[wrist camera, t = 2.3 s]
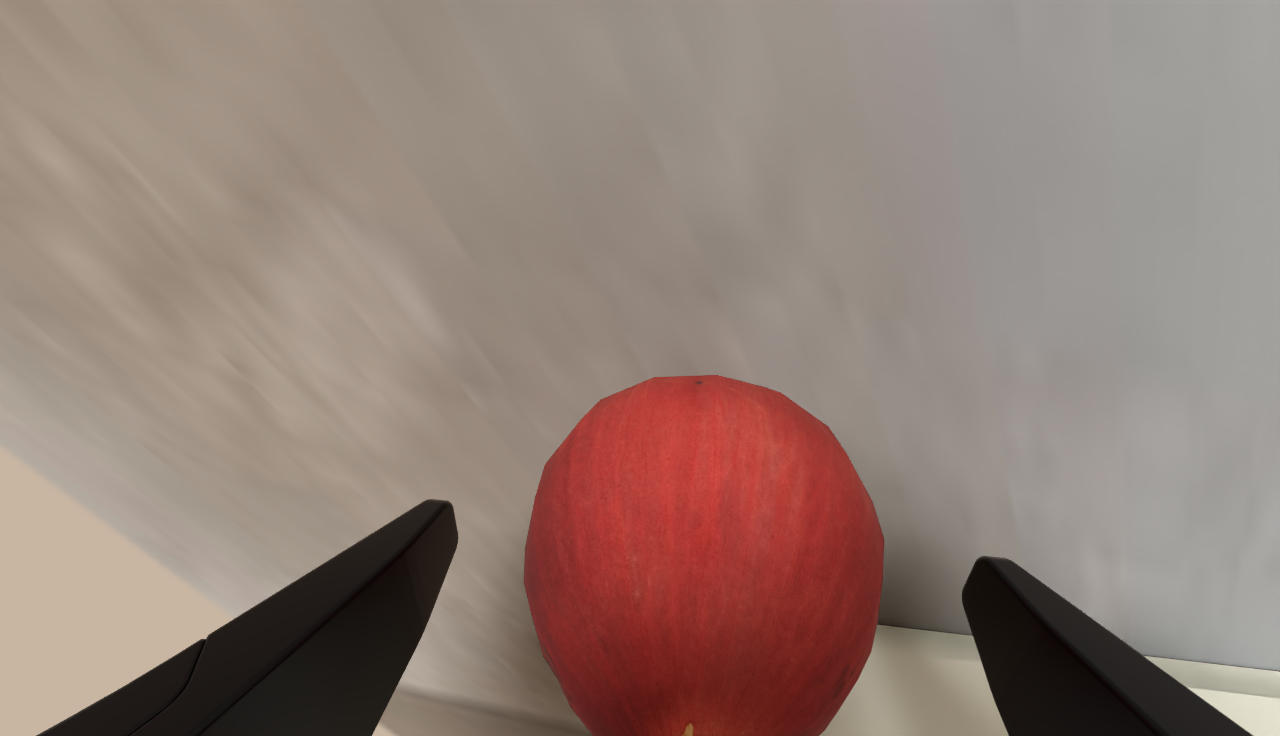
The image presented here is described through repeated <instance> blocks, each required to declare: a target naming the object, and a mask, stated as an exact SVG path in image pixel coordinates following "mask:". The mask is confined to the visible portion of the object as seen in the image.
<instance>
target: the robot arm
mask: <svg viewBox="0 0 1280 736" xmlns="http://www.w3.org/2000/svg"><path fill="white" fill-rule="evenodd" d="M457 544H458V531H457V526H456V520H455V514H454V509H453V505H452V504H451V503H450V502H449V501H444V500H434V499H429V500H426V501H424V502H422V503H420V504H419V505H417V506H416V507H414V508H412V509H411V510H409V511H408V512H406V513H404V514H403V515H401V516H400V517H398V518H396V519H395V520H393V521H391V522H390V523H388V524H387V525H385V526H383V527H382V528H380V529H379V530H377V531H375V532H374V533H372V534H370V535H369V536H367V537H366V538H364V539H362V540H361V541H359V542H358V543H356V544H354V545H353V546H351V547H350V548H348V549H346V550H345V551H343V552H341V553H340V554H338V555H337V556H335V557H333V558H332V559H330V560H329V561H327V562H325V563H324V564H322V565H320V566H319V567H317V568H316V569H314V570H312V571H311V572H309V573H308V574H306V575H304V576H303V577H301V578H300V579H298V580H296V581H295V582H293V583H291V584H290V585H288V586H287V587H285V588H283V589H282V590H280V591H279V592H277V593H275V594H274V595H272V596H270V597H269V598H267V599H266V600H264V601H262V602H261V603H259V604H258V605H256V606H254V607H253V608H251V609H250V610H248V611H246V612H245V613H243V614H241V615H240V616H238V617H237V618H235V619H233V620H232V621H230V622H229V623H227V624H225V625H224V626H222V627H220V628H219V629H217V630H216V631H214V632H212V633H211V634H209V635H208V637H207V639H201V640H199V641H198V642H196V643H194V644H193V645H191V646H190V647H188V648H186V649H185V650H183V651H182V652H180V653H178V654H177V655H175V656H173V657H172V658H170V659H168V660H167V661H165V662H163V663H162V664H160V665H159V666H157V667H155V668H154V669H152V670H150V671H149V672H147V673H145V674H144V675H142V676H141V677H139V678H137V679H135V680H134V681H132V682H130V683H129V684H127V685H125V686H124V687H122V688H120V689H118V690H117V691H115V692H113V693H111V694H110V695H108V696H106V697H104V698H103V699H101V700H99V701H97V702H96V703H94V704H92V705H90V706H88V707H87V708H85V709H83V710H81V711H80V712H78V713H77V714H74V715H73V716H71V717H69V718H67V719H66V720H64V721H62V722H60V723H58V724H57V725H55V726H53V727H51V728H49V729H48V730H46V731H44V732H42V733H40V734H39V735H37V736H372V734H373V732H374V730H375V728H376V726H377V724H378V722H379V720H380V718H381V716H382V714H383V712H384V711H385V709H386V707H387V705H388V703H389V701H390V699H391V697H392V695H393V693H394V691H395V689H396V687H397V685H398V683H399V681H400V679H401V677H402V675H403V673H404V671H405V669H406V667H407V665H408V663H409V661H410V659H411V657H412V655H413V653H414V651H415V649H416V647H417V645H418V643H419V641H420V639H421V637H422V635H423V632H424V630H425V628H426V625H427V623H428V621H429V618H430V616H431V613H432V610H433V608H434V605H435V603H436V600H437V597H438V595H439V592H440V590H441V587H442V584H443V582H444V579H445V576H446V574H447V571H448V569H449V566H450V563H451V561H452V558H453V556H454V553H455V550H456V548H457ZM962 602H963V607H964V610H965V613H966V616H967V619H968V622H969V625H970V628H971V632H972V635H973V638H974V641H975V644H976V647H977V650H978V653H979V656H980V659H981V662H982V666H983V669H984V672H985V675H986V678H987V681H988V684H989V687H990V690H991V693H992V696H993V698H994V701H995V704H996V706H997V709H998V711H999V714H1000V716H1001V719H1002V721H1003V723H1004V726H1005V728H1006V730H1007V733H1008V735H1009V736H1253V735H1252V734H1251V733H1249V732H1248V731H1246V730H1245V729H1244V728H1242V727H1241V726H1240V725H1238V724H1237V723H1235V722H1234V721H1233V720H1231V719H1230V718H1228V717H1227V716H1226V715H1224V714H1223V713H1222V712H1220V711H1219V710H1217V709H1216V708H1215V707H1213V706H1212V705H1210V704H1209V703H1208V702H1206V701H1205V700H1204V699H1202V698H1201V697H1199V696H1198V695H1197V694H1195V693H1194V692H1193V691H1191V690H1190V689H1188V688H1187V687H1186V686H1184V685H1183V684H1181V683H1180V682H1179V681H1177V680H1176V679H1175V678H1173V677H1172V676H1170V675H1169V674H1168V673H1166V672H1165V671H1164V670H1162V669H1161V668H1159V667H1158V666H1157V665H1155V664H1154V663H1152V662H1151V661H1150V660H1148V659H1147V658H1146V657H1144V656H1143V655H1141V654H1140V653H1139V652H1137V651H1136V650H1134V649H1133V648H1132V647H1130V646H1129V645H1128V644H1126V643H1125V642H1123V641H1122V640H1121V639H1119V638H1118V637H1117V636H1115V635H1114V634H1112V633H1111V632H1110V631H1108V630H1107V629H1105V628H1104V627H1103V626H1101V625H1100V624H1099V623H1097V622H1096V621H1094V620H1093V619H1092V618H1090V617H1089V616H1088V615H1086V614H1085V613H1083V612H1082V611H1081V610H1079V609H1078V608H1076V607H1075V606H1074V605H1072V604H1071V603H1070V602H1068V601H1067V600H1065V599H1064V598H1063V597H1061V596H1060V595H1058V594H1057V593H1056V592H1054V591H1053V590H1052V589H1050V588H1049V587H1047V586H1046V585H1045V584H1043V583H1042V582H1041V581H1039V580H1038V579H1036V578H1035V577H1034V576H1032V575H1031V574H1029V573H1028V572H1027V571H1025V570H1024V569H1023V568H1021V567H1020V566H1018V565H1017V564H1016V563H1014V562H1013V561H1011V560H1009V559H1006V558H999V557H989V556H982V557H980V558H978V559H977V560H976V562H975V564H974V566H973V568H972V570H971V573H970V575H969V577H968V579H967V581H966V583H965V586H964V588H963V591H962Z"/></svg>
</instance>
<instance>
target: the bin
mask: <svg viewBox="0 0 1280 736" xmlns="http://www.w3.org/2000/svg"><path fill="white" fill-rule="evenodd" d="M1144 657H1146V658H1147V659H1148V660H1150V661H1151V662H1152V663H1154V664H1155V665H1157V666H1158V667H1159V668H1161V669H1162V670H1164V671H1165V672H1166V673H1168V674H1169V675H1170V676H1172V677H1173V678H1175V679H1176V680H1177V681H1179V682H1180V683H1181V684H1183V685H1184V686H1186V687H1187V688H1188V689H1190V690H1191V691H1193V692H1194V693H1195V694H1197V695H1198V696H1199V697H1201V698H1202V699H1204V700H1205V701H1206V702H1208V703H1209V704H1210V705H1212V706H1213V707H1215V708H1216V709H1217V710H1219V711H1220V712H1222V713H1223V714H1224V715H1226V716H1227V717H1228V718H1230V719H1231V720H1233V721H1234V722H1235V723H1237V724H1238V725H1240V726H1241V727H1242V728H1244V729H1245V730H1246V731H1248V732H1249V733H1251V734H1252V735H1253V736H1280V672H1279V671H1270V670H1261V669H1253V668H1244V667H1236V666H1227V665H1218V664H1210V663H1201V662H1193V661H1184V660H1176V659H1167V658H1158V657H1150V656H1144ZM819 736H1009V735H1008V733H1007V730H1006V728H1005V726H1004V723H1003V721H1002V719H1001V716H1000V714H999V711H998V709H997V706H996V704H995V701H994V698H993V696H992V693H991V690H990V687H989V684H988V681H987V678H986V675H985V672H984V669H983V666H982V662H981V659H980V656H979V653H978V650H977V647H976V644H975V641H974V638H973V636H969V635H961V634H952V633H944V632H935V631H926V630H918V629H909V628H901V627H892V626H883V625H877V627H876V632H875V637H874V642H873V647H872V651H871V653H870V656H869V658H868V660H867V662H866V664H865V666H864V668H863V670H862V672H861V675H860V677H859V679H858V681H857V682H856V684H855V685H854V687H853V688H852V690H851V692H850V693H849V695H848V696H847V698H846V700H845V701H844V703H843V704H842V706H841V708H840V709H839V711H838V712H837V714H836V715H835V716H834V718H833V719H832V721H831V722H830V724H829V725H828V727H827V728H826V730H825V731H824V732H823V733H822V734H820V735H819Z"/></svg>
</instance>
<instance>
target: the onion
mask: <svg viewBox="0 0 1280 736" xmlns="http://www.w3.org/2000/svg"><path fill="white" fill-rule="evenodd" d="M883 555H884V537H883V534H882V531H881V527H880V524H879V521H878V518H877V514H876V511H875V508H874V505H873V502H872V500H871V498H870V496H869V494H868V492H867V491H866V489H865V487H864V485H863V483H862V481H861V480H860V478H859V476H858V474H857V472H856V470H855V469H854V467H853V465H852V463H851V461H850V459H849V457H848V456H847V454H846V452H845V451H844V449H843V448H842V446H841V445H840V443H839V442H838V440H837V439H836V437H835V436H834V434H833V433H832V431H831V430H830V428H829V427H828V426H827V425H825V424H824V423H822V422H821V421H820V420H818V419H817V418H815V417H814V416H813V415H811V414H810V413H808V412H807V411H806V410H804V409H803V408H801V407H800V406H799V405H797V404H796V403H794V402H793V401H792V400H790V399H789V398H787V397H786V396H785V395H783V394H782V393H780V392H777V391H774V390H771V389H768V388H766V387H762V386H758V385H754V384H750V383H746V382H742V381H738V380H734V379H730V378H726V377H722V376H718V375H705V376H677V377H654V378H651V379H649V380H647V381H644V382H642V383H639V384H637V385H635V386H632V387H630V388H627V389H625V390H623V391H620V392H618V393H615V394H613V395H611V396H608V397H606V398H604V399H601V400H600V401H599V402H598V403H597V404H596V405H595V406H594V407H593V408H592V409H591V410H590V411H589V412H588V413H587V414H586V415H585V416H584V417H583V418H582V419H581V420H580V422H579V423H578V424H577V425H576V427H575V428H574V429H573V430H572V432H571V433H570V434H569V435H568V437H567V438H566V439H565V440H564V442H563V443H562V444H561V445H560V447H559V448H558V449H557V450H556V452H555V453H554V454H553V455H552V456H551V458H550V459H549V460H548V461H547V463H546V464H545V467H544V470H543V473H542V477H541V480H540V483H539V486H538V490H537V493H536V496H535V501H534V506H533V511H532V516H531V521H530V526H529V531H528V536H527V541H526V546H525V567H524V584H525V589H526V593H527V597H528V602H529V606H530V610H531V614H532V618H533V621H534V625H535V628H536V632H537V635H538V639H539V642H540V646H541V649H542V653H543V656H544V658H545V660H546V661H547V663H548V665H549V666H550V668H551V669H552V671H553V673H554V674H555V676H556V677H557V679H558V681H559V683H560V685H561V687H562V689H563V692H564V694H565V696H566V698H567V700H568V702H569V705H570V707H571V708H572V709H573V711H574V712H575V713H576V714H577V716H578V717H579V718H580V720H581V721H582V722H583V723H584V725H585V726H586V727H587V729H588V730H589V731H590V732H591V734H592V735H593V736H819V735H820V734H822V733H823V732H824V731H825V730H826V728H827V727H828V725H829V724H830V722H831V721H832V719H833V718H834V716H835V715H836V714H837V712H838V711H839V709H840V708H841V706H842V704H843V703H844V701H845V700H846V698H847V696H848V695H849V693H850V692H851V690H852V688H853V687H854V685H855V684H856V682H857V681H858V679H859V677H860V675H861V672H862V670H863V668H864V666H865V664H866V662H867V660H868V658H869V656H870V653H871V651H872V647H873V642H874V637H875V632H876V627H877V623H878V616H879V607H880V597H881V588H882V579H883Z"/></svg>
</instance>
